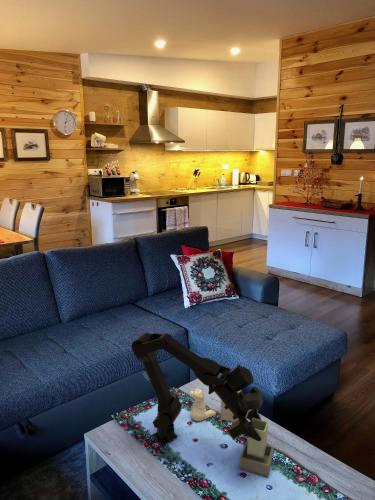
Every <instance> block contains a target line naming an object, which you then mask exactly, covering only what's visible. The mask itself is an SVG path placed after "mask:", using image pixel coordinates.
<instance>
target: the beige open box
mask: <svg viewBox="0 0 375 500" xmlns="http://www.w3.org/2000/svg"><path fill="white" fill-rule="evenodd" d="M251 421H253V424H252V426H253V428H254V429H255V430H256V432H257V433H258V435H259V436H260V438H261V441H257V440H254V439H252V438H250V437H248V436H247V439H248V446H247V454H248V455H252V456H255V457H258V458H262V459H263V457H264V454H265V451H266V445H268V443H267V442H268V428H269V421H266V420H262V419H261V420H259V419H255V418H252V420H251Z"/></svg>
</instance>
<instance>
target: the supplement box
mask: <svg viewBox="0 0 375 500" xmlns="http://www.w3.org/2000/svg"><path fill="white" fill-rule="evenodd" d="M239 392H240V391H239ZM224 406H225V404H224V403H223V401H222V400H221V399H220V421H222V420H226V421H225V422H229V421H231V422H230V423H234V422H235V421H237V420H238V418H237V419H235V420H234V419H233V418H232V417H233V413H232V412H231V411H230V410H229V409H225V408H224Z"/></svg>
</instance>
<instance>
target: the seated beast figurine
mask: <svg viewBox="0 0 375 500" xmlns="http://www.w3.org/2000/svg"><path fill="white" fill-rule="evenodd" d="M190 395H191V398H193V399H194V401H193V404H192V407H191V410H190V417H191V419H192V420H194V421H197V422H201V420H203V421H204V419H205V420H207V419H210V418H213V417H214V416H215V415H217V414H216V411H215V410H213V409H207V407H206V406H207V403H206V401H205V395H204V393H203V391H202V390H201V389H200V388H195V389H194V390H190ZM212 416H213V417H212ZM209 417H210V418H209Z"/></svg>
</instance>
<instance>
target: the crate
mask: <svg viewBox="0 0 375 500" xmlns="http://www.w3.org/2000/svg"><path fill="white" fill-rule="evenodd" d="M247 446H248V438H247V439H246V441H245V443H244V447H243V449H242V451H241V455H240V457H239V470H241V471H244V472H247V473H251V474H254V475H257V476H260V477H264V478H267V479H268V477H269V474H270V470H271V466H272V463H271V462H273V459H274V446H273V445H269V444H267V445H266V451H265V454H264V457H263V459H262V458H258V457H255V456H252V455H248V454H247ZM272 458H273V459H272Z"/></svg>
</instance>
